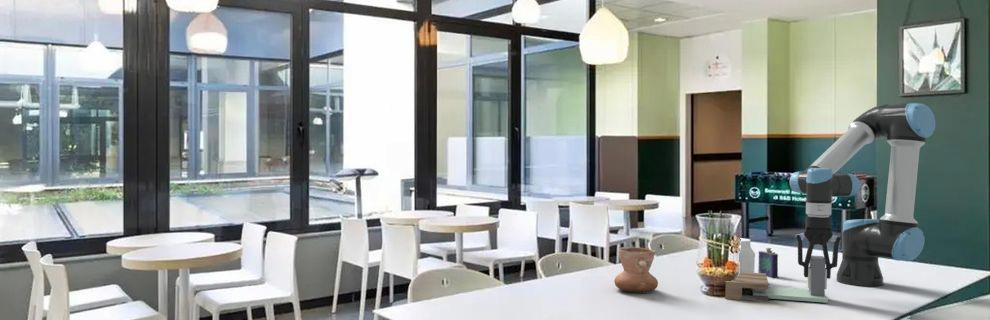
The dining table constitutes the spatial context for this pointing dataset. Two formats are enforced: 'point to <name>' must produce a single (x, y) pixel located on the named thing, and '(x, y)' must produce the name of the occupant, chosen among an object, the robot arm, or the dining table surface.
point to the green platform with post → (812, 294)
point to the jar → (746, 256)
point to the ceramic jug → (636, 270)
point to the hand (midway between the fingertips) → (816, 287)
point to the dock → (746, 286)
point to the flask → (768, 263)
